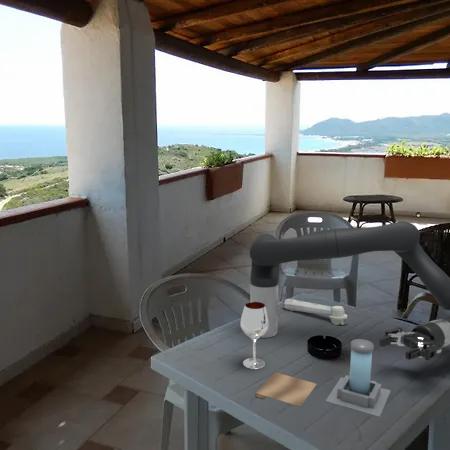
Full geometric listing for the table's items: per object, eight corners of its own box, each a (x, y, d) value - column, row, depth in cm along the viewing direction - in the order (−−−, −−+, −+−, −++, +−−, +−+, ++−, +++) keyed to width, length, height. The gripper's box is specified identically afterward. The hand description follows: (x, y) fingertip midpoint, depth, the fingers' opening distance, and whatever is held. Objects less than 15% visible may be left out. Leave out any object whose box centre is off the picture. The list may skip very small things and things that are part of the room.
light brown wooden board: (255, 396, 119) (255, 392, 119) (275, 375, 129) (275, 372, 129) (300, 410, 113) (300, 406, 113) (316, 387, 123) (316, 383, 123)
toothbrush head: (288, 296, 180) (349, 303, 164) (290, 313, 181) (350, 321, 165) (281, 300, 176) (342, 307, 160) (282, 317, 177) (343, 326, 161)
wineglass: (271, 359, 138) (272, 302, 135) (264, 372, 131) (265, 312, 127) (244, 355, 141) (245, 298, 137) (236, 368, 133) (236, 308, 130)
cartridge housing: (325, 404, 115) (326, 391, 115) (340, 380, 127) (341, 368, 126) (379, 420, 109) (380, 406, 108) (390, 394, 120) (391, 381, 119)
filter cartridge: (345, 397, 117) (348, 345, 114) (351, 387, 121) (354, 337, 118) (367, 403, 114) (370, 350, 111) (372, 393, 119) (375, 342, 116)
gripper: (412, 314, 134) (372, 326, 126) (458, 331, 122) (417, 346, 114) (411, 338, 136) (371, 351, 128) (456, 358, 124) (415, 374, 116)
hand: (393, 349), depth 121 cm, fingers open, 8 cm apart
